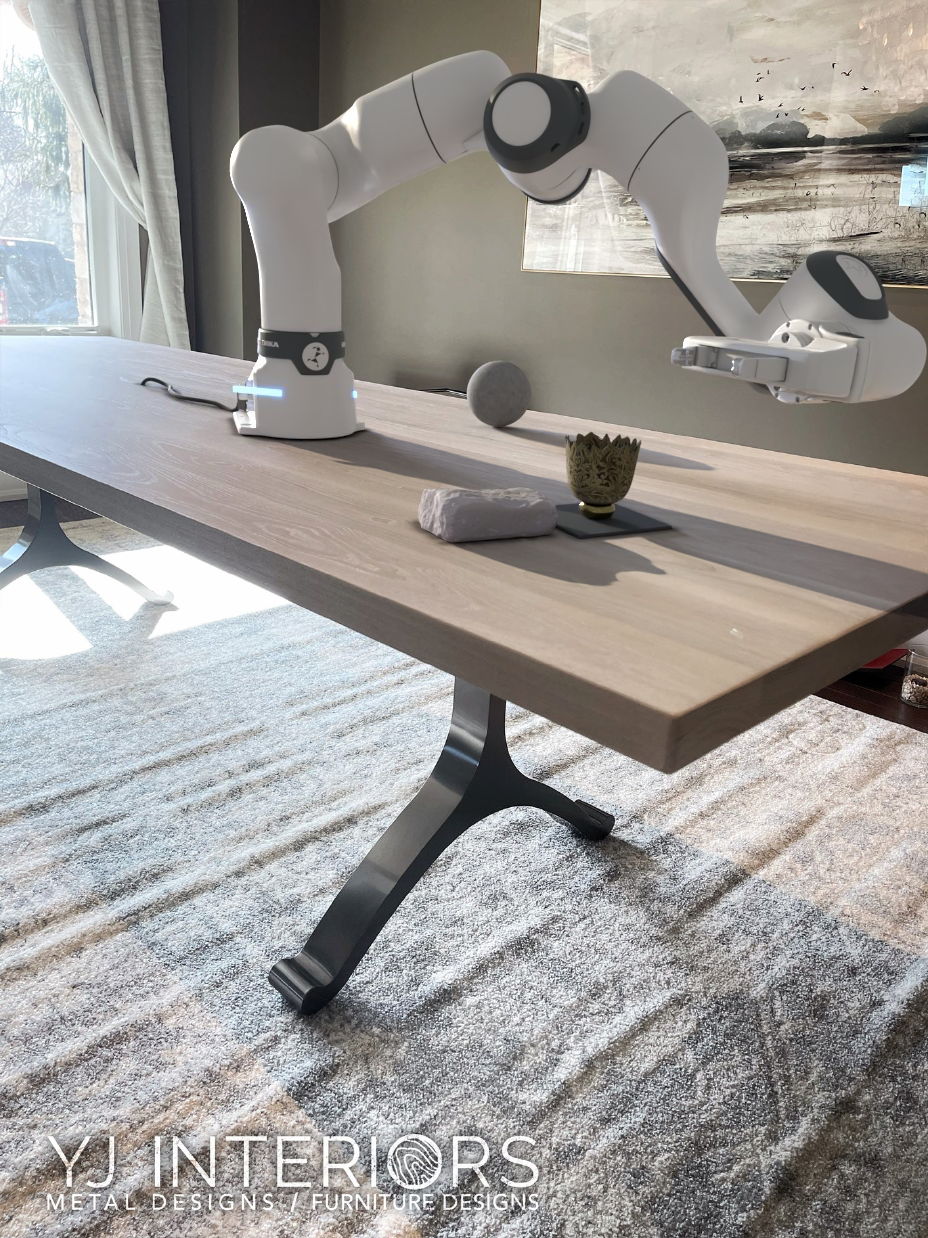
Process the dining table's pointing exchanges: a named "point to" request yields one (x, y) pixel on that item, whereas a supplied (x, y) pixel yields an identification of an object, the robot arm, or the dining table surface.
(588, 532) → the slate coaster
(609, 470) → the cup
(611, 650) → the dining table surface
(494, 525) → the stone block
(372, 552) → the dining table surface
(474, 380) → the decorative ball
